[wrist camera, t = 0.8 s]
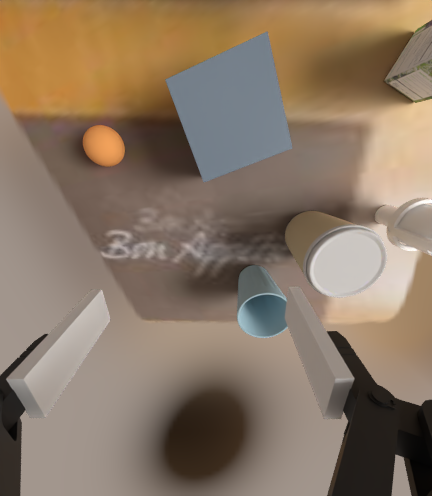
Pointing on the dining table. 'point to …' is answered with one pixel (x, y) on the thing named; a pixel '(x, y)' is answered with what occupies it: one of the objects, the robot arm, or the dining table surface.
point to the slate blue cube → (232, 108)
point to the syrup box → (414, 67)
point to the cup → (260, 303)
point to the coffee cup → (335, 253)
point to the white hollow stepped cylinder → (408, 224)
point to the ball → (103, 145)
